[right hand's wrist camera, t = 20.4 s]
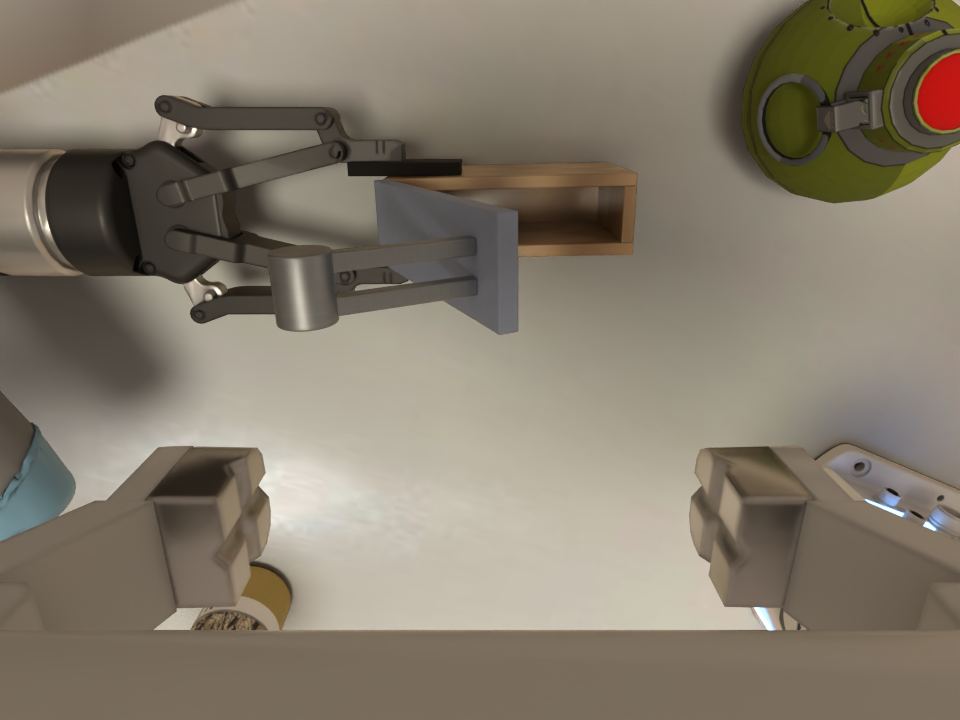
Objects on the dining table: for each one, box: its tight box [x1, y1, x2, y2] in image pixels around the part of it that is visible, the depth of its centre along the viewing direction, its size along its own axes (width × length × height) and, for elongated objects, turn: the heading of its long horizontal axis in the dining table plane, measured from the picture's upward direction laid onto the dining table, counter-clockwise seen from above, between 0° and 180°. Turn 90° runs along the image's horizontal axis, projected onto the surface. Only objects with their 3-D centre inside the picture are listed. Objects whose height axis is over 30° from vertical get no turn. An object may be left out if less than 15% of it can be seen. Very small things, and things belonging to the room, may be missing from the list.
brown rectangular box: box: [383, 162, 637, 257], centre depth 41 cm, size 14×5×9 cm, turn 91°
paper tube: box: [191, 566, 291, 630], centre depth 46 cm, size 7×7×25 cm
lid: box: [267, 180, 518, 335], centre depth 28 cm, size 15×5×9 cm
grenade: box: [741, 0, 960, 203], centre depth 35 cm, size 12×12×15 cm
